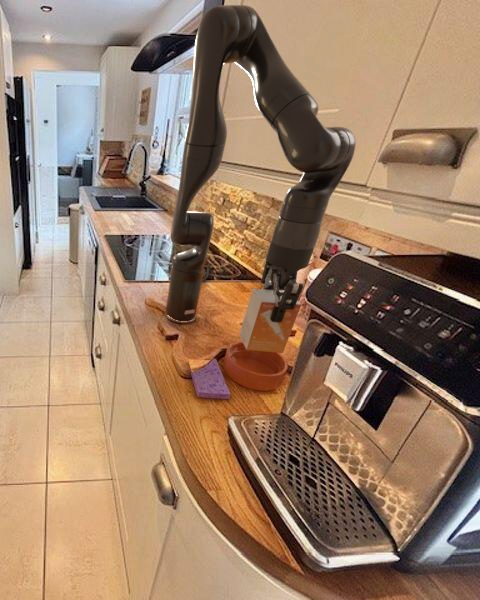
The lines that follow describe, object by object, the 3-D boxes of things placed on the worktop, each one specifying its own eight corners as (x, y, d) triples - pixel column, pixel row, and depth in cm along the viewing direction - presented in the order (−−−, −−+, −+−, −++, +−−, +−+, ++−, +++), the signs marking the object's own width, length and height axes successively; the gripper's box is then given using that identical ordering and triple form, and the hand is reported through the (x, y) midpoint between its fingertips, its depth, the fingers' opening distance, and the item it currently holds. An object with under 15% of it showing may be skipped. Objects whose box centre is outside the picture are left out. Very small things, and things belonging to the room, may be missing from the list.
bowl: (218, 354, 87) (221, 339, 85) (271, 359, 85) (276, 343, 83) (228, 388, 76) (233, 372, 74) (290, 395, 74) (297, 379, 71)
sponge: (197, 397, 74) (198, 391, 73) (187, 362, 85) (188, 356, 84) (229, 400, 73) (231, 393, 72) (214, 363, 84) (216, 358, 83)
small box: (246, 351, 75) (260, 301, 68) (238, 335, 80) (251, 288, 74) (284, 354, 73) (302, 304, 67) (273, 337, 79) (290, 290, 73)
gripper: (331, 255, 58) (301, 332, 66) (298, 230, 70) (276, 298, 78) (286, 253, 59) (262, 329, 67) (261, 229, 71) (243, 296, 79)
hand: (270, 312), depth 73 cm, fingers closed on small box, 6 cm apart
